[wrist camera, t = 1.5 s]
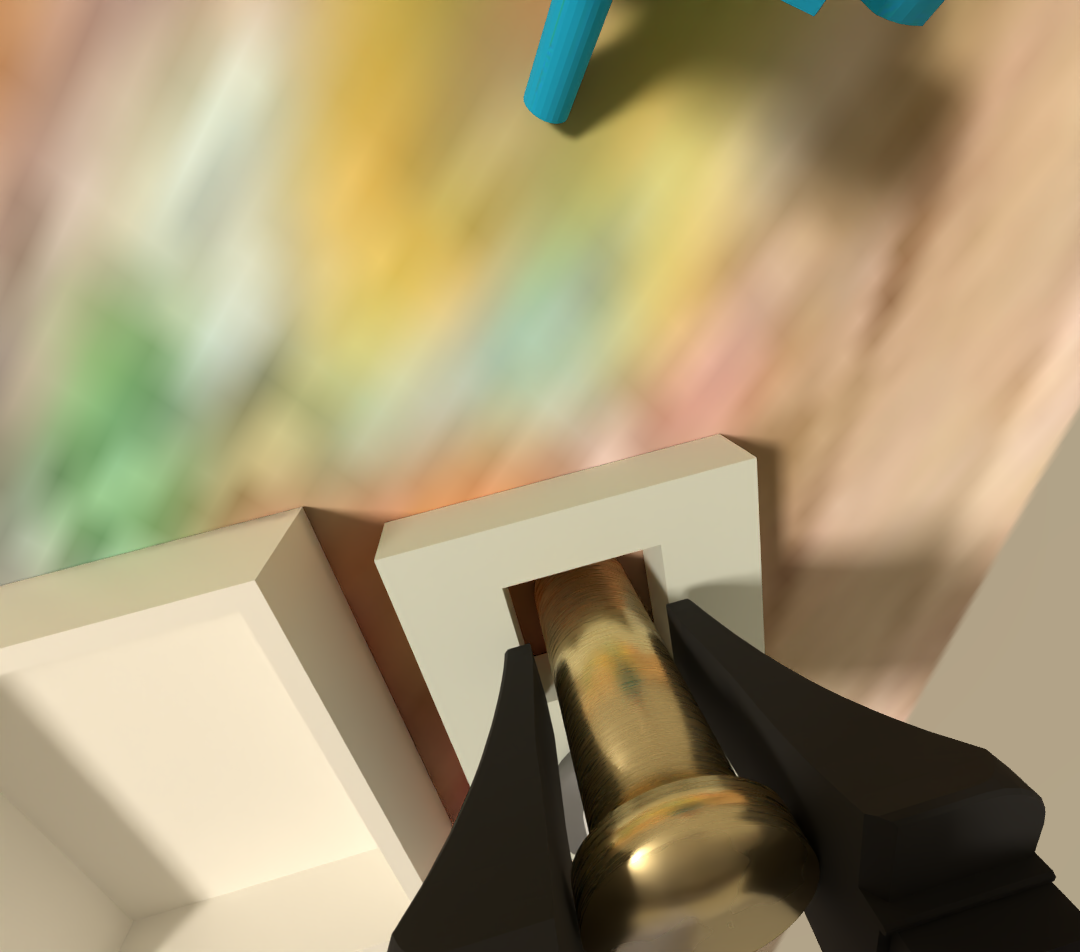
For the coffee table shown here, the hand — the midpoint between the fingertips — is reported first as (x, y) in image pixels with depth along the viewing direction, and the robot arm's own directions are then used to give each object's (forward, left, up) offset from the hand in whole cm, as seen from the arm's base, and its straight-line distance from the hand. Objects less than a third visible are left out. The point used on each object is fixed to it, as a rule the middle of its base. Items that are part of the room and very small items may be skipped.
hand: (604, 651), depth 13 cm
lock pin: (0, 0, -3) cm, 3 cm away
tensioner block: (-3, 0, -3) cm, 4 cm away
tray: (-2, +13, -3) cm, 13 cm away
